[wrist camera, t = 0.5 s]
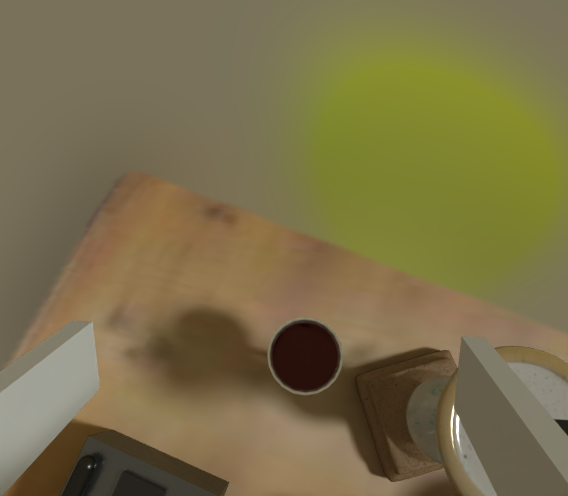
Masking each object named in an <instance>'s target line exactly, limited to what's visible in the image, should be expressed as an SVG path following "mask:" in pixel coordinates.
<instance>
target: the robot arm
mask: <svg viewBox="0 0 568 496" xmlns="http://www.w3.org/2000/svg"><path fill="white" fill-rule="evenodd" d="M99 389H100V385H99V376H98V368H97V359H96V350H95V341H94V333H93V324H92V322H91V321H71V322H70V323H68V324H67V325H66V326H64V327H63V328H61V329H60V330H59V331H57V332H56V333H54V334H53V335H52V336H50V337H49V338H47V339H46V340H44V341H43V342H42V343H40V344H39V345H37V346H36V347H35V348H33V349H32V350H30V351H29V352H28V353H26V354H25V355H23V356H22V357H21V358H19V359H18V360H16V361H15V362H13V363H12V364H11V365H9V366H8V367H6V368H5V369H4V370H2V371H1V372H0V496H3V495H4V494H5V493H6V492H7V490H8V489H9V488H10V487H11V486H12V485H13V484H14V483H15V482H16V481H17V479H18V478H19V477H20V476H21V475H22V474H23V473H24V472H25V471H26V470H27V468H28V467H29V466H30V465H31V464H32V463H33V462H34V461H35V460H36V458H37V457H38V456H39V455H40V454H41V453H42V452H43V451H44V450H45V449H46V447H47V446H48V445H49V444H50V443H51V442H52V441H53V440H54V439H55V438H56V436H57V435H58V434H59V433H60V432H61V431H62V430H63V429H64V428H65V426H66V425H67V424H68V423H69V422H70V421H71V420H72V419H73V418H74V417H75V415H76V414H77V413H78V412H79V411H80V410H81V409H82V408H83V407H84V406H85V404H86V403H87V402H88V401H89V400H90V399H91V398H92V397H93V396H94V395H95V393H96V392H97V391H98V390H99ZM454 409H455V411H456V413H457V415H458V417H459V419H460V421H461V424H462V426H463V428H464V430H465V432H466V434H467V436H468V438H469V440H470V442H471V444H472V446H473V448H474V450H475V452H476V454H477V456H478V458H479V460H480V462H481V464H482V466H483V468H484V470H485V472H486V474H487V476H488V478H489V480H490V482H491V484H492V486H493V488H494V490H495V492H496V494H497V496H568V420H560V419H553V418H552V417H551V415H550V414H549V413H548V412H547V411H546V409H545V408H544V407H543V406H542V405H541V403H540V402H539V401H538V400H537V399H536V397H535V396H534V395H533V394H532V393H531V392H530V390H529V389H528V388H527V387H526V386H525V384H524V383H523V382H522V381H521V380H520V378H519V377H518V376H517V375H516V374H515V372H514V371H513V370H512V369H511V368H510V367H509V365H508V364H507V363H506V362H505V361H504V359H503V358H502V357H501V356H500V355H499V353H498V352H497V351H496V350H495V349H494V347H493V346H492V345H491V344H490V343H489V342H488V340H487V339H486V338H485V337H463V336H462V338H461V347H460V356H459V365H458V374H457V383H456V391H455V400H454Z"/></svg>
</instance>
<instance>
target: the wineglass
mask: <svg viewBox="0 0 568 496" xmlns="http://www.w3.org/2000/svg"><path fill="white" fill-rule="evenodd" d="M267 356H268V365H269V368H270V370H271V373H272V375H273V377H274V379H275V380H276V381H277V382H278V383H279V384H280V385H281V386H282V387H283V388H284V389H286V390H288V391H290V392H291V393H294V394H299V395H304V396H305V395H312V394H317V393H319V392H321V391H323V390H325V389H327V388H328V387H329V386H330V385H331V384H332V383H333V382H334V381H335V380H336V379H337V377H338V375H339V373H340V371H341V368H342V362H343V351H342V346H341V342H340V341H339V339H338V337H337V335H336V333H335V332H334V331H333V330H332V329H331V328H330V327H329V326H328V325H327V324H325V323H323V322H321V321H319V320H318V319H313V318H308V317H302V318H295V319H292V320H290V321H288V322H286V323H284V324H283V325H282V326H281V327H280V328H279V329H278V330H277V331H276V332H275V333H274V335H273V337H272V339H271V341H270V342H269V348H268V353H267Z"/></svg>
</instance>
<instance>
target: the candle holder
mask: <svg viewBox="0 0 568 496" xmlns="http://www.w3.org/2000/svg"><path fill="white" fill-rule="evenodd" d="M494 349H495V350H496V351H497V352H498V353H499V355H500V356H501V357H502V358H503V359H504V361H505V362H506V363H507V364H508V365H509V367H510V368H511V369H512V370H513V371H514V372H515V374H516V375H517V376H518V377H519V378H520V380H521V381H522V382H523V383H524V384H525V386H526V387H527V388H528V389H529V390H530V392H531V393H532V394H533V395H534V396H535V397H536V399H537V400H538V401H539V402H540V403H541V405H542V406H543V407H544V408H545V409H546V411H547V412H548V413H549V414H550V415H551V417H552V418H553V419H560V420H568V363H566V362H565V361H563V360H561V359H560V358H558V357H556V356H554V355H551V354H549V353H547V352H544V351H541V350H537V349H533V348H529V347H520V346H502V347H497V348H494ZM457 374H458V368H457V366H456V364H455V362H454V359H453V357H452V355H451V353H450V352H449V350H443V351H438V352H434V353H430V354H426V355H423V356H420V357H416V358H413V359H410V360H406V361H403V362H400V363H396V364H393V365H389V366H386V367H383V368H379V369H376V370H373V371H369V372H366V373H364V374H361V375H358V376H357V377H355V382H356V385H357V389H358V393H359V396H360V399H361V402H362V405H363V409H364V412H365V415H366V418H367V421H368V424H369V427H370V431H371V434H372V437H373V440H374V443H375V446H376V449H377V452H378V456H379V459H380V462H381V465H382V467H383V470H384V473H385V475H386V477H387V478H388V479H389V480H390V481H391V482H396V481H401V480H405V479H409V478H412V477H416V476H419V475H422V474H425V473H428V472H431V471H435V470H438V469H441V468H444V469H445V472H446V474H447V476H448V478H449V480H450V481H451V483H452V485H453V486H454V488H455V489H456V491H457V492H458V494H459V495H460V496H497V494H496V492H495V490H494V488H493V486H492V484H491V482H490V480H489V478H488V476H487V474H486V472H485V470H484V468H483V466H482V464H481V462H480V460H479V458H478V456H477V454H476V452H475V450H474V448H473V446H472V444H471V442H470V440H469V438H468V436H467V434H466V432H465V430H464V428H463V426H462V424H461V421H460V419H459V417H458V415H457V413H456V411H455V409H454V400H455V391H456V383H457Z"/></svg>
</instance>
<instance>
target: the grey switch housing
mask: <svg viewBox="0 0 568 496" xmlns="http://www.w3.org/2000/svg"><path fill="white" fill-rule="evenodd" d="M228 484H229V482H227V481H225V480H223V479H221V478H218V477H216V476H214V475H212V474H210V473H207V472H205V471H203V470H201V469H199V468H196V467H194V466H192V465H190V464H188V463H185V462H183V461H181V460H179V459H177V458H174V457H172V456H170V455H168V454H166V453H163V452H161V451H159V450H157V449H155V448H152V447H150V446H148V445H146V444H143V443H141V442H139V441H137V440H135V439H132V438H130V437H128V436H126V435H124V434H121V433H119V432H117V431H115V430H112V431H108V432H103V433H99V434H95V435H91V436H88V438H87V440H86V442H85V444H84V446H83V448H82V450H81V452H80V454H79V456H78V458H77V460H76V462H75V464H74V467H73V469H72V471H71V473H70V475H69V477H68V479H67V481H66V483H65V485H64V487H63V489H62V491H61V493H60V495H59V496H224V495H225V492H226V489H227V487H228Z"/></svg>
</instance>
